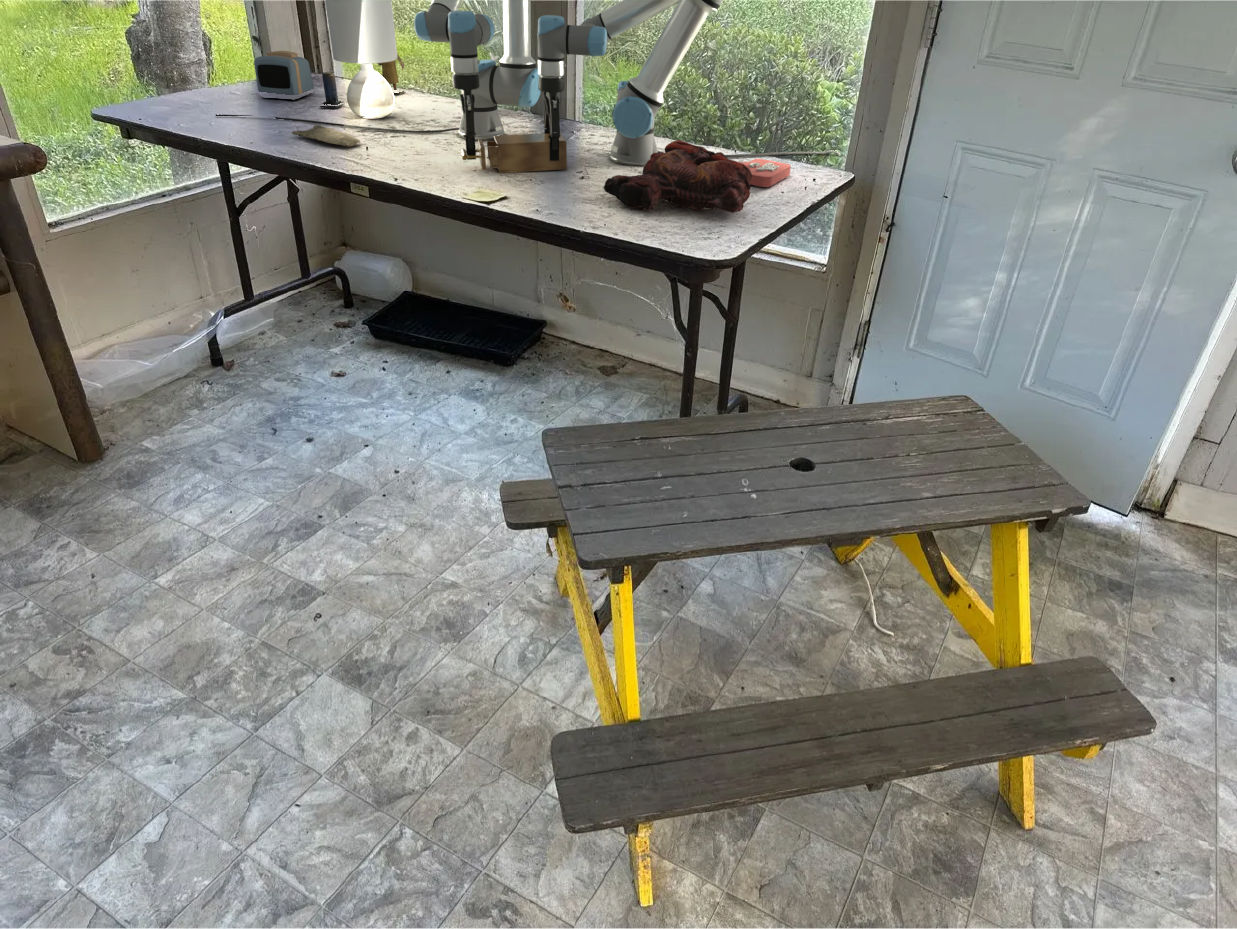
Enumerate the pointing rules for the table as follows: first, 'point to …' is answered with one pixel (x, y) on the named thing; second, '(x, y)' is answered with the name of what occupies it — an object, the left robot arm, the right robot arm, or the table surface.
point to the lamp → (364, 51)
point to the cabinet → (528, 153)
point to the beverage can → (330, 90)
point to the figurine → (391, 72)
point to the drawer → (491, 154)
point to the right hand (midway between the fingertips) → (551, 155)
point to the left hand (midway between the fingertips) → (471, 158)
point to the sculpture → (685, 180)
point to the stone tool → (328, 136)
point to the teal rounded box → (283, 73)
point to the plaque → (767, 172)
